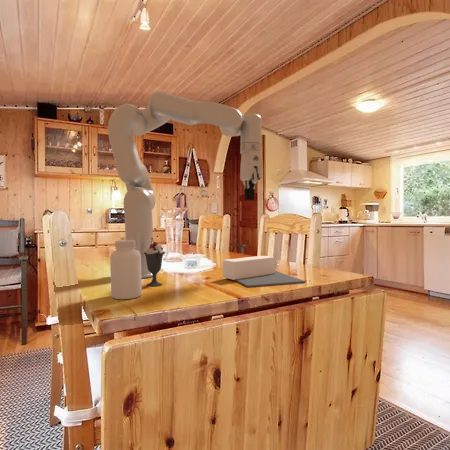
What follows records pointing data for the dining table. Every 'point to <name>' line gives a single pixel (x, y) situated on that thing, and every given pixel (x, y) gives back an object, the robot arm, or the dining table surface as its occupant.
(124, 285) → the pill bottle
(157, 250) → the sundae
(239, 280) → the slate mat
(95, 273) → the dining table surface
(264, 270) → the milk
